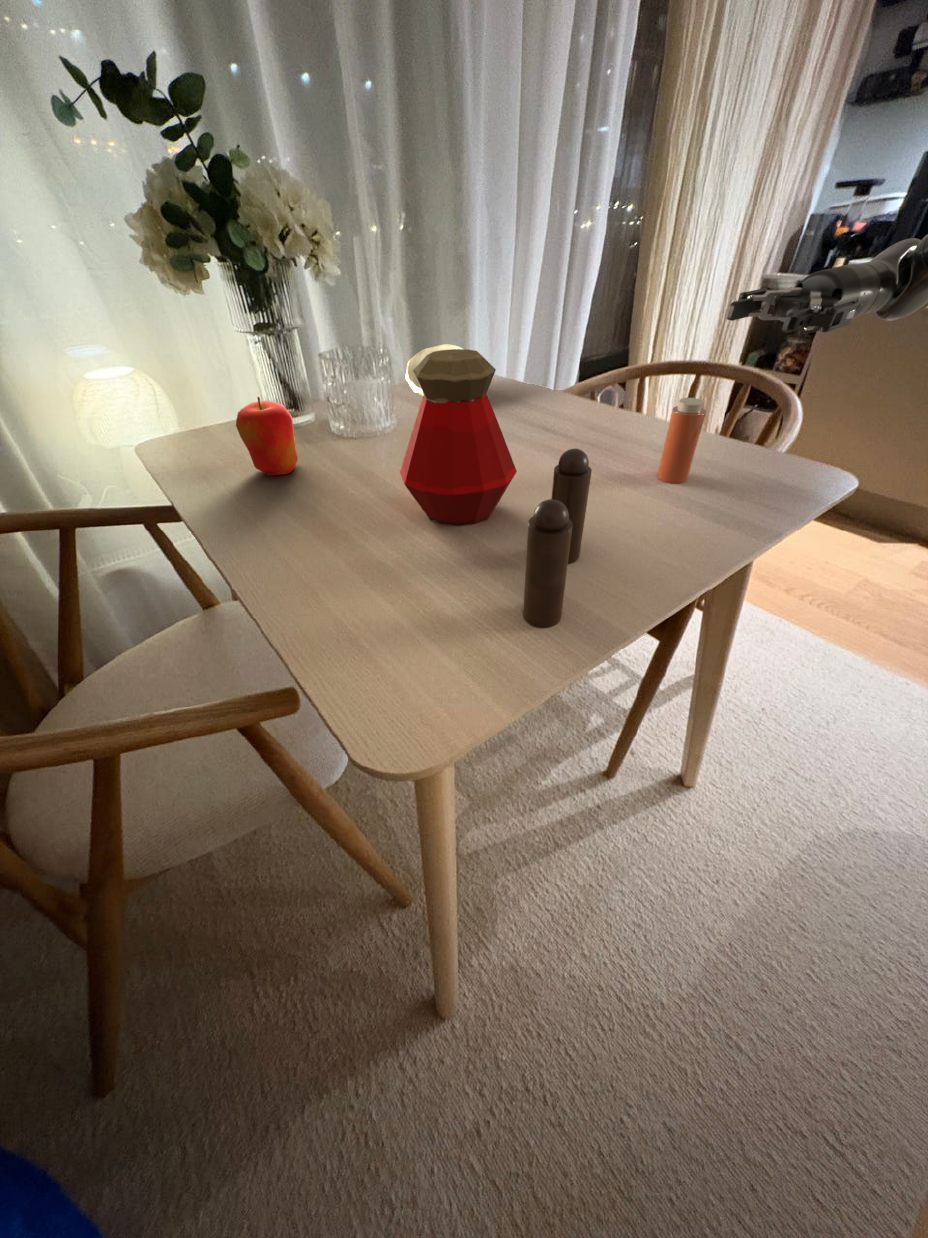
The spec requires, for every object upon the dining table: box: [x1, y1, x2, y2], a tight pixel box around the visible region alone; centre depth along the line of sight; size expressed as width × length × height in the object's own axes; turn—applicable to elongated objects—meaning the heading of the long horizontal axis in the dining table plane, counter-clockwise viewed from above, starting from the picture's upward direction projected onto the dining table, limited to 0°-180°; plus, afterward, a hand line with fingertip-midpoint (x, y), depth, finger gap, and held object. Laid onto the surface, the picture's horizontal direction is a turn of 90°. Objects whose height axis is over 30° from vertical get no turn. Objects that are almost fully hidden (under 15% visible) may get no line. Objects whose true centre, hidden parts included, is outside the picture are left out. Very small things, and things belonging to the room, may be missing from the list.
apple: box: [235, 396, 298, 476], centre depth 79 cm, size 9×8×12 cm
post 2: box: [551, 447, 593, 565], centre depth 56 cm, size 4×4×13 cm
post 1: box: [522, 498, 573, 629], centre depth 48 cm, size 4×4×13 cm
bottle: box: [399, 348, 517, 527], centre depth 63 cm, size 16×14×20 cm
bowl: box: [405, 343, 463, 397], centre depth 104 cm, size 15×14×10 cm
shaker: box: [656, 397, 707, 484], centre depth 72 cm, size 4×4×11 cm
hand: (757, 317), depth 66 cm, fingers open, 8 cm apart
